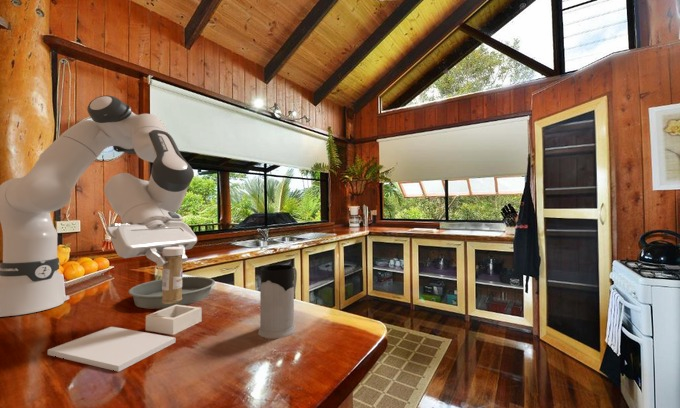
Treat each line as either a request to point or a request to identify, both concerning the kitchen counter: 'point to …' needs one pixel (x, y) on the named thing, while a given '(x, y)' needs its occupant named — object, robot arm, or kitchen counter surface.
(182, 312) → the stand
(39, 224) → the robot arm
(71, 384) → the kitchen counter surface
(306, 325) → the kitchen counter surface
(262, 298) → the grey ceramic mug
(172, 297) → the sprinkles bottle
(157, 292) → the cake pan
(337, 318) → the kitchen counter surface
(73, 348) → the white board
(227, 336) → the kitchen counter surface
